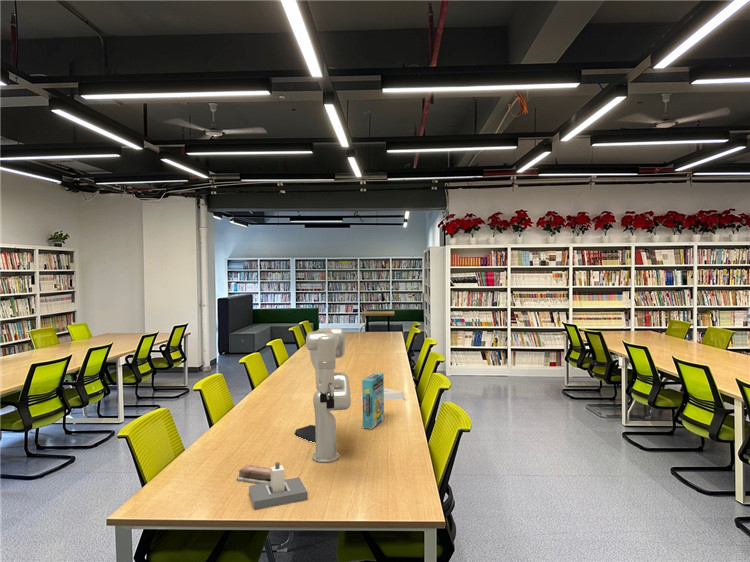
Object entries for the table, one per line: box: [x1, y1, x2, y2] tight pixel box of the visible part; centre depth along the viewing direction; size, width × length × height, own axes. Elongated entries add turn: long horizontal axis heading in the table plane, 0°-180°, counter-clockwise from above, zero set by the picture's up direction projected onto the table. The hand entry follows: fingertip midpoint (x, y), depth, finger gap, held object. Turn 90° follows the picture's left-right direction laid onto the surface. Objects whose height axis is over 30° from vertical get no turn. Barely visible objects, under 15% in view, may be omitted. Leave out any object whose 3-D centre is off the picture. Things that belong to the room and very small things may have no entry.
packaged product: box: [236, 464, 286, 485], centre depth 201 cm, size 18×5×10 cm
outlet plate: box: [248, 476, 309, 511], centre depth 185 cm, size 14×20×3 cm
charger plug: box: [270, 461, 286, 493], centre depth 185 cm, size 4×4×13 cm
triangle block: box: [360, 387, 405, 404], centre depth 321 cm, size 30×26×6 cm
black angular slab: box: [294, 424, 316, 444], centre depth 251 cm, size 13×19×4 cm
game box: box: [361, 372, 385, 429], centre depth 272 cm, size 20×6×27 cm, turn 161°
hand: (327, 405), depth 202 cm, fingers open, 9 cm apart
